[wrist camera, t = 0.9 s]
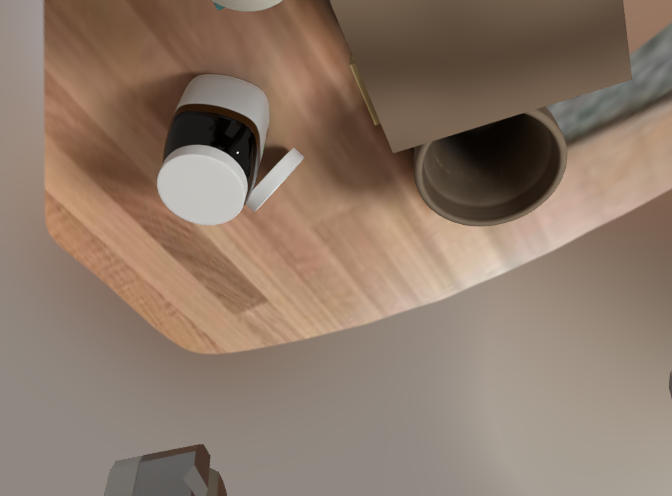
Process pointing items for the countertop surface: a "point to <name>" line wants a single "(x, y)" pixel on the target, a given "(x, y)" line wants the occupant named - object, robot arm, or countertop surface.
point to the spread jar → (219, 151)
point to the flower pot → (492, 169)
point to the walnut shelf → (477, 59)
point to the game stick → (245, 4)
